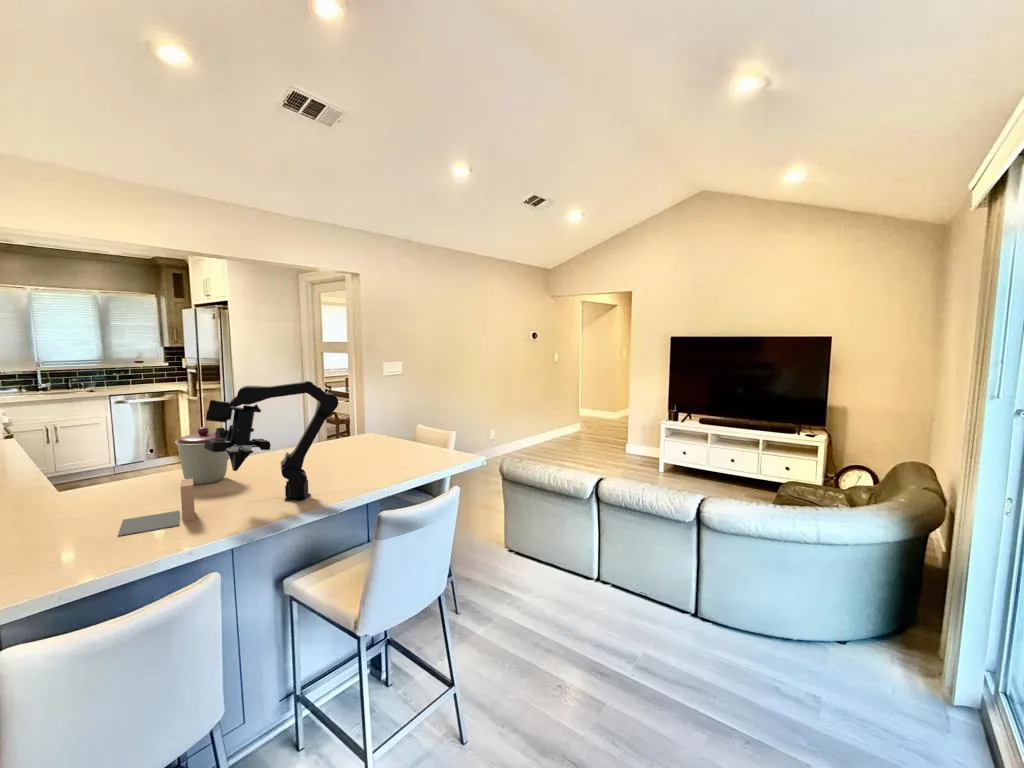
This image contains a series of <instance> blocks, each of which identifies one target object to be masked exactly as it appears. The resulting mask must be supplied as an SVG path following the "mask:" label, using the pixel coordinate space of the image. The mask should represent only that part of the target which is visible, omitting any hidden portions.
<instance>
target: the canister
mask: <svg viewBox="0 0 1024 768" xmlns="http://www.w3.org/2000/svg"><path fill="white" fill-rule="evenodd" d="M215 433H216V431H215V432H209V427H206V426H205V427H204V426H203V427H202V426H201V427H199V428H198V429H197V433H193V434H188V435H183V436H181V437H180V438H178V439H176V440H175V441H174V443H175V445H177V450H178V454H179V456H178V457H179V463H180V467H181V470H182V471H181V472H182V475H183V478H184V480H185V479H192V478H193V485H206V484H213V483H216V482H218V481H221V480H223V479H224V478H225V476H226V474H227V470H228V462H229V455H228V453H227V452H226V451H224V452H212V451H210V450H207V449H205V448H204V446H205V443H206V441H207V440H221V438H216V437H215ZM224 442H230V441H224Z"/></svg>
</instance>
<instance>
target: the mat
mask: <svg viewBox="0 0 1024 768" xmlns="http://www.w3.org/2000/svg"><path fill="white" fill-rule="evenodd" d="M174 526H175V527H180V510H174V511H169V512H163V513H162V512H160V513H156V514H148V515H144V516H143V515H142V516H137V517H132V518H131V517H130V518H125V519H123V520H122V522H121V525H120V528H119V531H118V534H117V537H118V536H119V537H123V536H122V535H124V536H128V534H130V535H134V534H133V533H136V534H140V533H139V532H141V533H146V531H147V532H151V531H152V530H153V531H157V530H156V529H158V530H162V529H161V528H164V529H168V528H167V527H169V528H173V527H174ZM175 527H174V528H175Z"/></svg>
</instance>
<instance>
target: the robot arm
mask: <svg viewBox="0 0 1024 768" xmlns="http://www.w3.org/2000/svg"><path fill="white" fill-rule="evenodd" d="M301 394H307V395H310V397H312V398H314V400H316V401H317V404H316V408H315V410H314V411H315V412H314V415H313V417H312V418H311V420H310V422H309V423H308V425H307V427H306V428H305V430H304V433H303V434H302V436H301V437H300V439H299V441H298V443H297V445H296V447H295V449H293V451H292V452H291V453H289V452H285V455H284V458H283V459H282V460H281V461H280V470H281V472H280V473H281V475H282V477H283V478H284V479H286V480H287V481H286V484H285V486H284V491H285V492H284V494H285V495H284V496H285V498H284V501H285V500H300V501H299V502H302V501H301V500H303V501H305V500H306V499H308V498H309V497H310V496H311V494H312V493H309V479H308V476H307V473H306V471H305V470H304V469H303V468H302V467H303V465H304V461H305V458H306V455H307V453H308V451H309V450H310V447H311V446H312V444H313V443H314V441H315V439H316V437H317V435H318V433H320V430H321V428H322V426H323V425H324V423H325V421H326V420H327V419H328V418H330V416H331V415H332V414H333V412H335V410H336V408H338V406H339V399H338V397H337V396H336V395H335V394H333V393H332V392H325V391H324V390H322V389H321V388H320V387H318V386H316V385H315V384H314V383H313V382H312V381H310V380H306V381H302V382H295V383H286V384H279V385H272V386H271V385H270V386H266V385H265V386H264V385H263V386H262V385H244V386H241V387H240V388H239V390H238V392H237V394H236V396H235V397H234V398H231V400H230V401H222V400H217V399H210V400H209V406H208V407H207V408H208V409H207V411H206V416H205V421H206V422H216V423H227V421H229V420H231V419H232V415H233V419H232V424H230V425H229V428H228V430H227V429H225V427H217V428H216V430H215V437H216V438H221V440H207V441H206V443H205V446H204V448H205V449H207V450H210V451H212V452H224V451H226V452H227V453H228V458H229V460H230V464H231V467H232V471H233V472H237V471H238V470H239V468H240V467H241V466H242V465H243V463H244V461H246V459H248V457H249V456H250V455H251V454H253V453H254V450H252V448H259V449H260V450H261V451H270V450H271V442H270V441H269V440H267V439H263V438H252V439H251V435H252V432H254V431H255V429H254V428H253V423H254V418H255V413H261V412H262V409H261V408H260V407H259V406H258V404H257V403H260V402H262V401H264V400H268V399H272V398H279V397H280V398H281V397H286V396H287V397H289V396H293V395H294V396H295V395H301ZM252 404H254V405H252ZM242 405H243V407H240V406H242ZM233 411H234V413H233ZM224 441H229V442H224ZM309 495H310V496H309ZM308 496H309V497H308ZM305 498H306V499H305Z"/></svg>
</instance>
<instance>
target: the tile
mask: <svg viewBox="0 0 1024 768" xmlns="http://www.w3.org/2000/svg"><path fill="white" fill-rule="evenodd" d="M180 500H181V503H180V504H181V517H182V519H181V520H182V521H183V523H185V521H186V522H191V520H192V521H195V520H196V515H195V513H196V512H195V510H196V509H195V495H194V484H193V478H192V479H185V478H184V479H181V481H180Z"/></svg>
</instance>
